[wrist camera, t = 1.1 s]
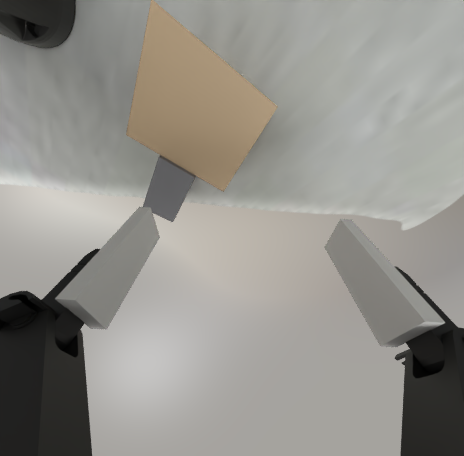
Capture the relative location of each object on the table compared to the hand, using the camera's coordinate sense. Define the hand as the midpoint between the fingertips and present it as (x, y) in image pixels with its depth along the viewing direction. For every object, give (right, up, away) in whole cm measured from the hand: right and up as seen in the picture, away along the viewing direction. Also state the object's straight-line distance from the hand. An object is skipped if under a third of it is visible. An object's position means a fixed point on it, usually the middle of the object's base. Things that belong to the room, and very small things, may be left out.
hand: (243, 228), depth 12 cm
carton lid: (-7, +10, +10) cm, 16 cm away
